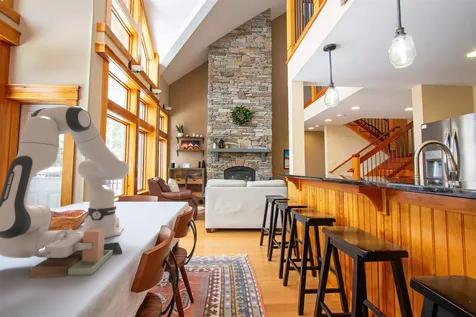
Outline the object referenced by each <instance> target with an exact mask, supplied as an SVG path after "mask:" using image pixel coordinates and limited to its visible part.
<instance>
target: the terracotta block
mask: <svg viewBox="0 0 476 317" xmlns="http://www.w3.org/2000/svg"><path fill="white" fill-rule="evenodd" d="M104 231H105V228H90V229H88V230H86V231H84V232H83V243H87V242H93V247H92V248H90V249H83V250H82V261H98V260H99V259H100V258H101V257H102V256H103V255H104V244H105V238H104Z"/></svg>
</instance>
